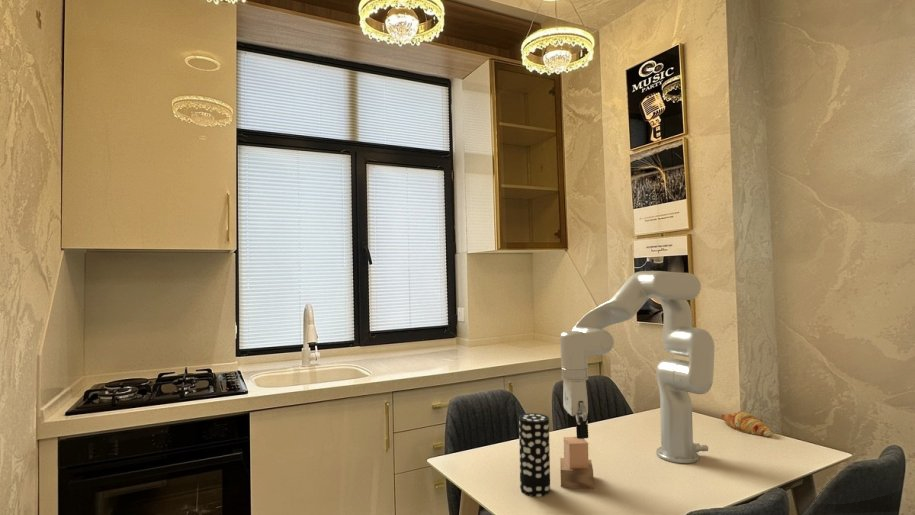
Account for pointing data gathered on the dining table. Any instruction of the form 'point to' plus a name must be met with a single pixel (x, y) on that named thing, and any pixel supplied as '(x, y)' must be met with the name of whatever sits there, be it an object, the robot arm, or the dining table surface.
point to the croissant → (747, 423)
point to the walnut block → (576, 476)
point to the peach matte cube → (576, 452)
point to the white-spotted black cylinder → (534, 454)
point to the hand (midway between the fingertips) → (577, 432)
